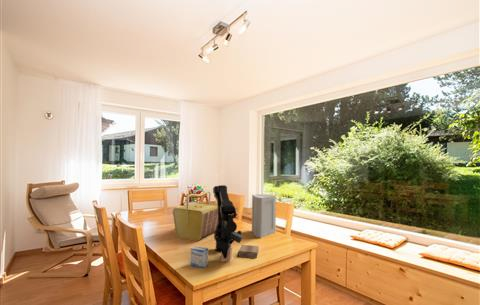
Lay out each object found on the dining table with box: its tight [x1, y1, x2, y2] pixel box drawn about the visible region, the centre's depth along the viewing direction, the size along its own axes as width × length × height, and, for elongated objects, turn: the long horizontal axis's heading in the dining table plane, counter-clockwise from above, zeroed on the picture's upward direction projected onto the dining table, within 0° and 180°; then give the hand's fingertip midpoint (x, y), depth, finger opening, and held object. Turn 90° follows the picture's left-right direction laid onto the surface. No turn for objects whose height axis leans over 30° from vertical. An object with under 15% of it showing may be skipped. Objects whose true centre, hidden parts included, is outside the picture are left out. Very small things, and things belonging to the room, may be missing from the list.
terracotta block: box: [220, 246, 233, 262], centre depth 128 cm, size 5×5×6 cm
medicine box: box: [189, 245, 209, 269], centre depth 120 cm, size 8×4×9 cm, turn 69°
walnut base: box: [238, 244, 259, 259], centre depth 136 cm, size 10×10×3 cm
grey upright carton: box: [251, 193, 277, 239], centre depth 176 cm, size 19×15×28 cm
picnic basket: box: [172, 190, 218, 242], centre depth 170 cm, size 29×26×30 cm
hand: (226, 256), depth 128 cm, fingers closed on terracotta block, 5 cm apart
